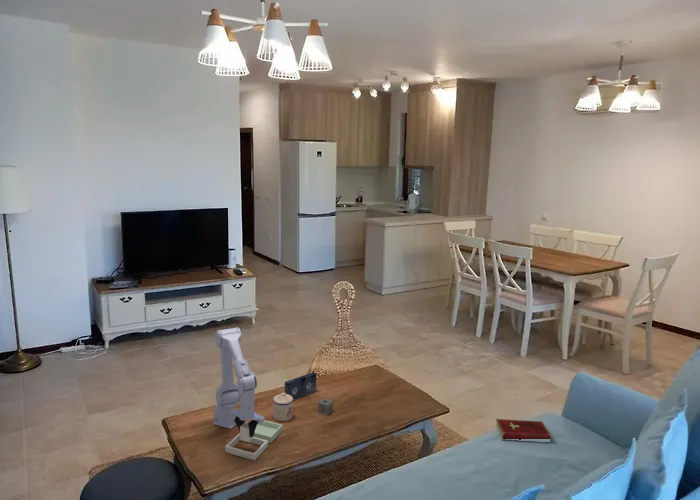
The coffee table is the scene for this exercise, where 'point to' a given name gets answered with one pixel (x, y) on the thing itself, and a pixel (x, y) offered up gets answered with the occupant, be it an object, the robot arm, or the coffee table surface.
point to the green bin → (268, 430)
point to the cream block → (245, 432)
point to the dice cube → (325, 406)
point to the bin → (243, 453)
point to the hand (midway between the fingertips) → (246, 434)
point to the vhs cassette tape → (301, 386)
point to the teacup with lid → (283, 407)
